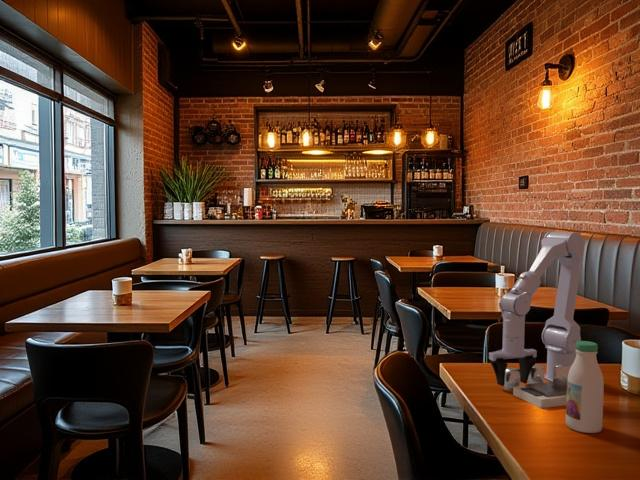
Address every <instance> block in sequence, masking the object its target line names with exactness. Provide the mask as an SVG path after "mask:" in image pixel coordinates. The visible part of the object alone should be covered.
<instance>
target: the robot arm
mask: <svg viewBox="0 0 640 480" xmlns="http://www.w3.org/2000/svg"><path fill="white" fill-rule="evenodd" d="M540 243H541V249H540V251H539V252H538V254H537V256H536V258H535V260H534V261H533V263H532V265H531V266H530V269H529V270H528V271H524V272H522V273H520V275H519V277H518V279H517V280H516V282H515V283H514V284H513V287H512V288H511V289H510V290H509V292H507V293H505V294H503V295H502V296H501V298H500V301H499V302H498V306H499V307H498V308H499V309H500V311H501V317H502V322H503V323H502V348H501V349H499V350H496V351H491V352H488V359H489V363H490V365H491V367H492V368H493V372H494V375H495V378H496V383H497V385H499V386H501V387H504V383H505V372H506V368H507V367H508V363H507V362H505V360H510V359H511V360H512V359H518V365H519V366H518V367H519V369H520V370H521V382H520V383H522V384H528V377H529V374H530V372H531V370H532V368H533V366H534V365H536V364H537V359H536V358H537V356H538V355H537V353H538V351H537V350H536V349H534V348H525V332H526V331H525V326H526V325H525V324H526V322H525V321H526V315H527V314H528V313H529V311H530V309H531V304H532V301H533V296H534V294H536V292H537V290H538V289H539V287H540V285H542V284H541V283H542V281H541V277H542V275H543V274H544V273H545V271H546V270H547V269H548V268H549V267H550V265H552V263H553V262H554V260H555V259H557V260H558V261H559V263H560V272H559V277H558V284H557V292H556V297H555V304H554V310H553V311H554V312H553V316H551V317H550V318H548V319H547V320H546V321H545V324H544V327H543V330H542V332H541V340H542V343H543V344H544V346H545V347H544V348H545V349H547V351H546V352H547V353H546V354H547V355H546V374H545V373H544V380H547V381H548V382H552V381H553V365H554V364H566V365H569V366H572V364H573V363H574V360H575V358H576V354H577V352H576V342H578V341H582V338H581V326H580V325H579V324H578V323H577V322H576V321H575V320H574V314H575V309H576V301H577V296H578V288H579V281H580V275H581V269H582V262H583V256H584V249H585V244H586V242H585V239H584V238H583V237H582V235H581V234H580V232H577V231H573V232H568V231H554V230H549V231H547V232H546V233H545V234H544V236H543V238H542V239H541V242H540Z"/></svg>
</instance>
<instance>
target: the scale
mask: <svg viewBox="0 0 640 480" xmlns="http://www.w3.org/2000/svg"><path fill="white" fill-rule="evenodd" d="M512 394H513V396H515V397H518V398H519V399H521V400H523V401H525V402H527V403H530V404H531V405H533V406H535V407H537V408H539V409H543V408H544V409H545V408H554V407H555V408H556V407H561V406H566V399H567V393H566V394H558V395H549V396H545V395H543V394H540V393H538V392H536V391H534V390H532V389H530V388H527V387H525V384H524V385H520V386H515V387H513V391H512Z"/></svg>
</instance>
